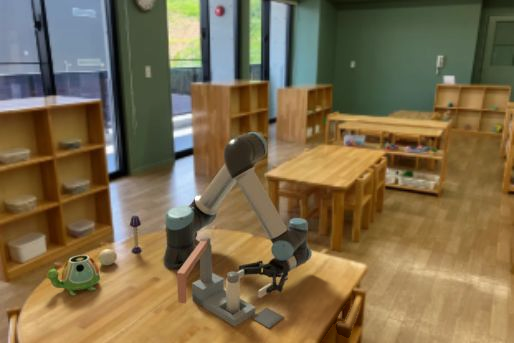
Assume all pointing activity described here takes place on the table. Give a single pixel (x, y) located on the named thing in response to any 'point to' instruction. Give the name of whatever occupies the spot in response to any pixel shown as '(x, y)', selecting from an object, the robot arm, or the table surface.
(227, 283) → the bottle
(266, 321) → the mat
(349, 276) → the table surface
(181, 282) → the pink bent bar
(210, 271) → the dock
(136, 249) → the toy lamp
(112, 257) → the cream oval egg shape
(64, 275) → the turtle holder
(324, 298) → the table surface
